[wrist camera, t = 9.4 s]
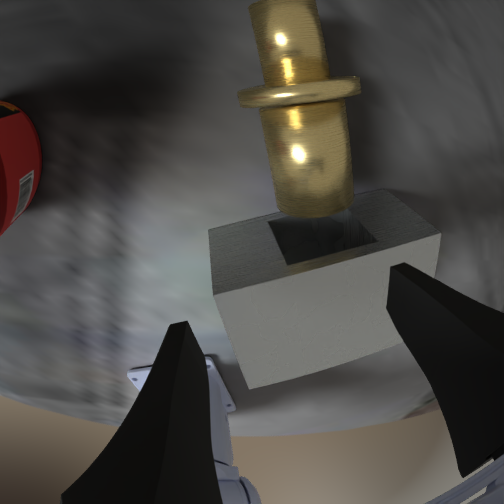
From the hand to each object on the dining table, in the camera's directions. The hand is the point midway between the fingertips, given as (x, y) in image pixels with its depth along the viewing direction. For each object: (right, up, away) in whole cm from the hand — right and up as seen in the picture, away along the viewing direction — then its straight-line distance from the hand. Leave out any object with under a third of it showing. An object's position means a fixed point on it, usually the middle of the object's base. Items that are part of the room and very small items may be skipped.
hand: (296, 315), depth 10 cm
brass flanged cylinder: (0, +11, +5) cm, 12 cm away
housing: (+2, +2, +11) cm, 11 cm away
